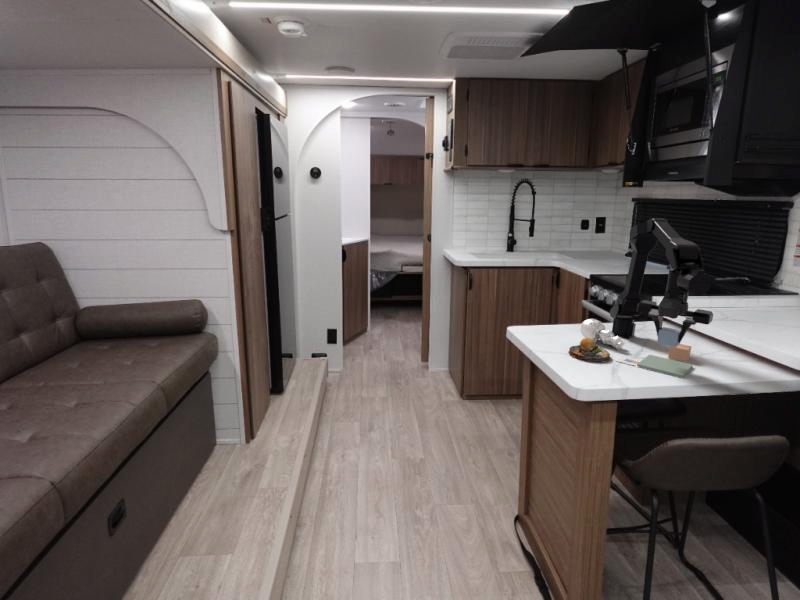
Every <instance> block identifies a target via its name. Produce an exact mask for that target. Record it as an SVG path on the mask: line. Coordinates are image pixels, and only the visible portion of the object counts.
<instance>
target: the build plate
mask: <svg viewBox="0 0 800 600" xmlns="http://www.w3.org/2000/svg"><path fill="white" fill-rule="evenodd" d="M693 365H694V364H691V363H689V362H688V363H687V362H683V361H678V360H674V359H670V358H668V357H667V358H665V357H662V356H658V355H653V354H647V356H645V357H644V358H643V359H642V360H641V362H639V363H638V364H637V366H639V367H638V368H640V367H643V368H642V369H644V368H646V369H645V370H648V369H649V371H652V370H653V372H656V371H657V372H658V373H660V372H661V374H665V375H669V376H672V377H676V376H677V377H676V378H681V379H683V378H684V377H685V376H686V375H687V373H688V372H690V371H691V369H692V368H693Z"/></svg>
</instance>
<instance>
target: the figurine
mask: <svg viewBox="0 0 800 600" xmlns="http://www.w3.org/2000/svg"><path fill="white" fill-rule="evenodd" d="M579 330H580V333H581V335H582V337H583V338H591V339H593V340H594V341H595V344H596V342H597V341H599V339H601V340H600V341H601V342H602V344H604V345H609V346H611V345H612V346H611V347H612V348H615V349H616V350H617V349H618V350H620V349H622V348H623V347H624V346H625V342H624V341H623V340H622V338H623V337H619V336H615V335H614V333H613V332H612V330H611V331H610V329H607V330H606V326H605V325H604V324H603V322H602V321H600V320H598V319H596V318H588V319H585V320H583V321H582V323H581V324H580V328H579ZM585 335H586V336H585Z"/></svg>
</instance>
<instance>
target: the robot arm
mask: <svg viewBox="0 0 800 600" xmlns="http://www.w3.org/2000/svg"><path fill="white" fill-rule="evenodd" d="M658 241H659V242H660V243H661V244H662V245H663V247H664V248H665V250H666V251H665V257H666V258H667V261H668V262H669V264H668V265H667V266H666V269H667V270H668V276H667V283H666V287H665V292H664V295H663V298H662V299H661V301H660V303H659V304H657V301H651V300H647V299H644V300H643V299H642V296H641V288H642V284H643V282H644V281H643V280H644V275H645V271H646V267H647V263H648V258H649V254H650V253H651V251H653V250H654V249H655V248H656V246H657V244H658ZM629 244H630V246H631V248H632V252H631V253H632V254H631V258H630V263H629V267H628V273H627V277H626V280H625V285H624V286H625V287H624V290H622V292H621V293H619V295H618V296H617V297H616V298H617V299H616V302H615V303H614V305H613V306H612V307H611V308H610V310H609V316H610V318H612V319H613V320H612V321H613V323H612V330H611V332H613V333H614V336H615V335H618V336H622V337H621V338H624V337H625V339H630V338H632V337H633V336H635V333H636V332H635V331H636V326H637V325H636V323H635V321H640V318H641V317H642V314H647V316H648V317H649V318H651V319H652V321H653V323H654V326H655V331H656V337H658V333H659V330H660V329H661V328H663V323H664V322H663V320H664V317H665V318H666V317H667V318H670V319H677V318H678V317H685V319H684V320H683V321H682V323H681V324H682V326H681V329H680V330H681V332H680V335H679V340H678V342H679V343H680V344H681V342H682V340H683V338H684V337H685V336H686V334H687V332H688V330H689V329H690V328H691V327H692V325H693V326H695V325H696V324H702V325H709V324H711V323H712V322H713V318H714V313H713V311H712V310H706V309H700V308H698V309H696V310H694V311H692V310H689V302H688V299H689V294H690V295H693V296H696V297H700V296H703V295H705V294H707V293H708V292H709V290H710V288H711V285H712V283H711V280H710V279H709V277H708V276H707V275H705V273H706V270H705V265H706V264H705V261H704V260H703V256H702V251H701V249H700V246H699V245H698V244H696V243H695V242H693V241H691V240H688V239H684V238H683V237H681V236H680V235H679V233H678V232H677V231H676V230H675V228H673V227H672V226H671V224H669V220H668V219H665V218H650V219H648V220H646V221H643V222H640V223H638V224H635V225H634V226H633V227H632V228H631V229H630V231H629Z"/></svg>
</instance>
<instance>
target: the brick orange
mask: <svg viewBox="0 0 800 600" xmlns="http://www.w3.org/2000/svg"><path fill="white" fill-rule="evenodd" d="M668 350H669V351H668V356H667V359H671V360H675V361H680V362H684V363H687V362H688V361H689V359H690V357H691V351H692V346H690V345H686V344H681V343H680V344H679V345H678V346H677V347H672V346H669V349H668Z"/></svg>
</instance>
